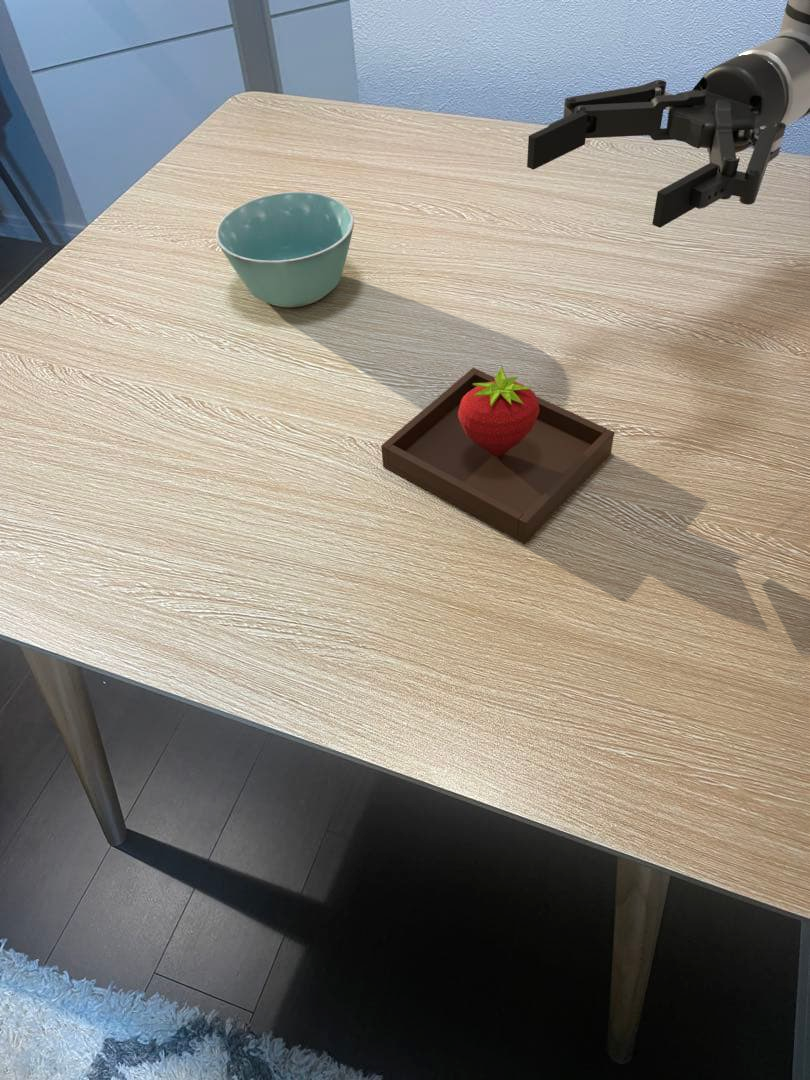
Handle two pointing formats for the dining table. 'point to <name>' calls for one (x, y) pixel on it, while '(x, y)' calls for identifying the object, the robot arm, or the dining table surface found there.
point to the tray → (498, 461)
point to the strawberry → (498, 413)
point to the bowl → (288, 245)
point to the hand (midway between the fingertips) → (591, 180)
